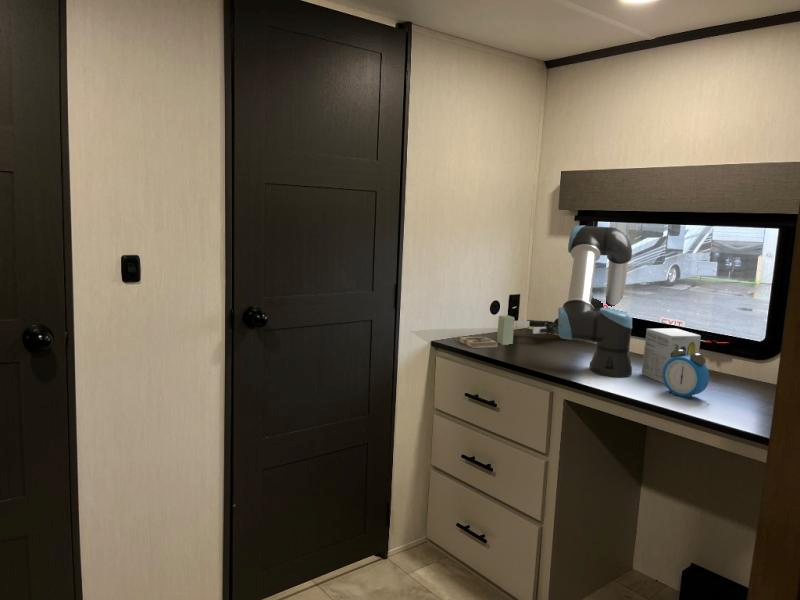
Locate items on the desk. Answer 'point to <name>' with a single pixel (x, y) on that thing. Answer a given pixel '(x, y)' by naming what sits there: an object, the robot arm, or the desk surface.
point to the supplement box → (666, 349)
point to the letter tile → (478, 342)
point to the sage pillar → (505, 330)
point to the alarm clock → (686, 373)
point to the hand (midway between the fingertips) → (524, 327)
